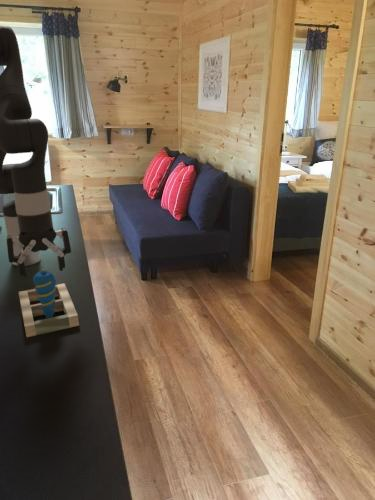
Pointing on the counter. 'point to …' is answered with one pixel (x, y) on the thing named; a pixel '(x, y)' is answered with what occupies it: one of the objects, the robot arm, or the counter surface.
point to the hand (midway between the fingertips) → (43, 272)
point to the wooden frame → (35, 310)
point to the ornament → (46, 291)
